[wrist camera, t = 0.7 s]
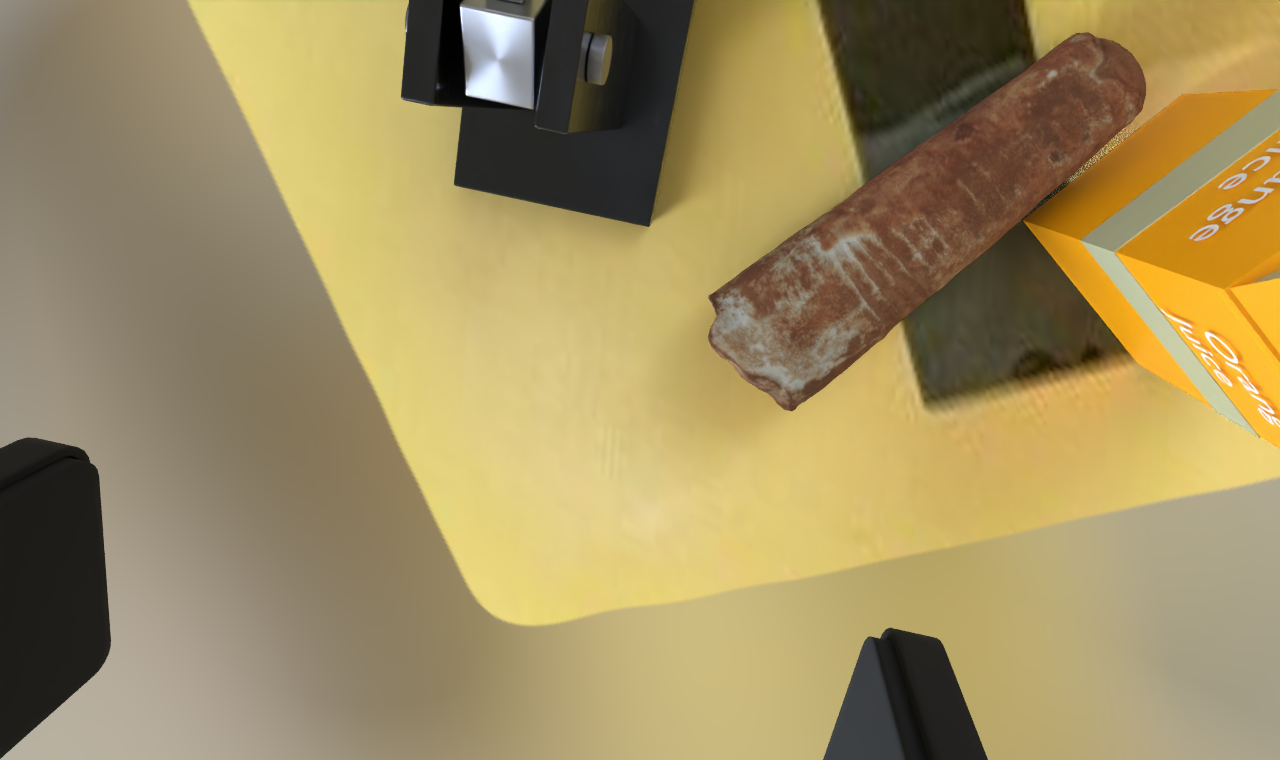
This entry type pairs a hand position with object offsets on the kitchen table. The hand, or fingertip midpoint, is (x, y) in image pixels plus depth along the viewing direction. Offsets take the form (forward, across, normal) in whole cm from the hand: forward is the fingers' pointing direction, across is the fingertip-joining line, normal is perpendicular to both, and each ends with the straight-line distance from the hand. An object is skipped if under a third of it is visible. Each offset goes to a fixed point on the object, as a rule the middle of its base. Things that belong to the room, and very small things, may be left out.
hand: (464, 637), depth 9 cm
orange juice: (+28, -21, -5) cm, 36 cm away
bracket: (+28, +5, -7) cm, 30 cm away
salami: (+28, -10, -4) cm, 30 cm away
